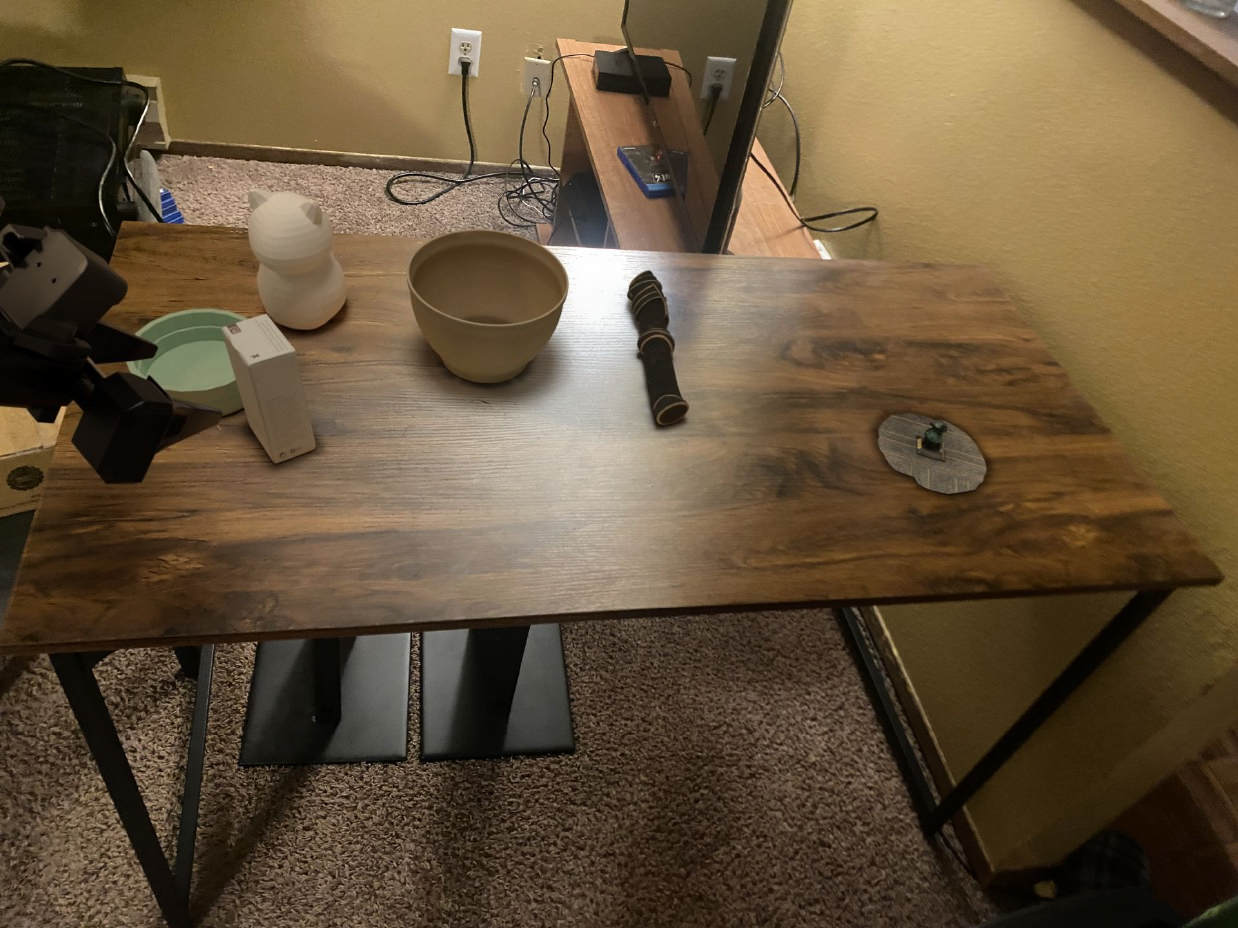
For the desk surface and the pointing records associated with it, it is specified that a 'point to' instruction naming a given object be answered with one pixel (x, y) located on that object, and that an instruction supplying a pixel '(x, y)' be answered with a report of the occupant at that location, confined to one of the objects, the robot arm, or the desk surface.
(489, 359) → the planter bowl
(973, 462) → the sculpture
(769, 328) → the desk surface
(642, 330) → the banded dark tube
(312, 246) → the cat figurine
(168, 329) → the shallow bowl
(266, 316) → the cosmetic box
